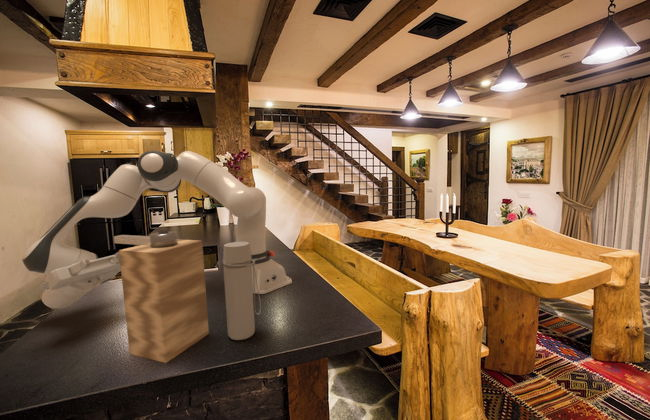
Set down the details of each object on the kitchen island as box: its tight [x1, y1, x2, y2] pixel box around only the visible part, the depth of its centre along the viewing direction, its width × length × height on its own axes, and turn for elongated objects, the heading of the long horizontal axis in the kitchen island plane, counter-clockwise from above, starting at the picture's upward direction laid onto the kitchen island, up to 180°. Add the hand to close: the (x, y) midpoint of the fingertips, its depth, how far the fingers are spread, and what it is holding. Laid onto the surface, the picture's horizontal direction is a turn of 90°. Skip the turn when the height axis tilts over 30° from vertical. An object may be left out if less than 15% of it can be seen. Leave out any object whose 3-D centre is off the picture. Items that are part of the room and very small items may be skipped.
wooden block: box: [118, 238, 210, 364], centre depth 78 cm, size 12×14×26 cm
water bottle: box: [222, 241, 262, 341], centre depth 81 cm, size 9×8×25 cm
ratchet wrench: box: [113, 227, 178, 248], centre depth 78 cm, size 20×6×4 cm, turn 69°
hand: (105, 257), depth 85 cm, fingers open, 8 cm apart
